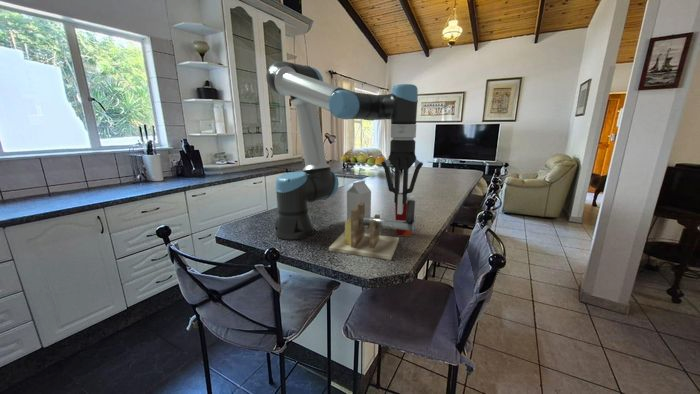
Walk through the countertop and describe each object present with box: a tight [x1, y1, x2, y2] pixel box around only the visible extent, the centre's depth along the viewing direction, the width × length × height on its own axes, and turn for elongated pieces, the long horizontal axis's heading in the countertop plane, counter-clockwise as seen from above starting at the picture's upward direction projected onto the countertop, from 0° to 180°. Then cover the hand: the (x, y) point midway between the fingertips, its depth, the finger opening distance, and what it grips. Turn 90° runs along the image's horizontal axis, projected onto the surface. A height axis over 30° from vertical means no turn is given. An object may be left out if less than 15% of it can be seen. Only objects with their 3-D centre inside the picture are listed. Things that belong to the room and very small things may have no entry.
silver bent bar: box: [363, 200, 417, 234], centre depth 91 cm, size 17×4×11 cm, turn 71°
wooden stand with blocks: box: [328, 202, 400, 261], centre depth 95 cm, size 21×16×14 cm
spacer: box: [344, 217, 351, 245], centre depth 96 cm, size 2×8×8 cm, turn 161°
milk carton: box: [346, 180, 372, 229], centre depth 113 cm, size 7×7×19 cm
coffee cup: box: [394, 193, 417, 237], centre depth 106 cm, size 8×8×15 cm
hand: (400, 213), depth 89 cm, fingers closed
